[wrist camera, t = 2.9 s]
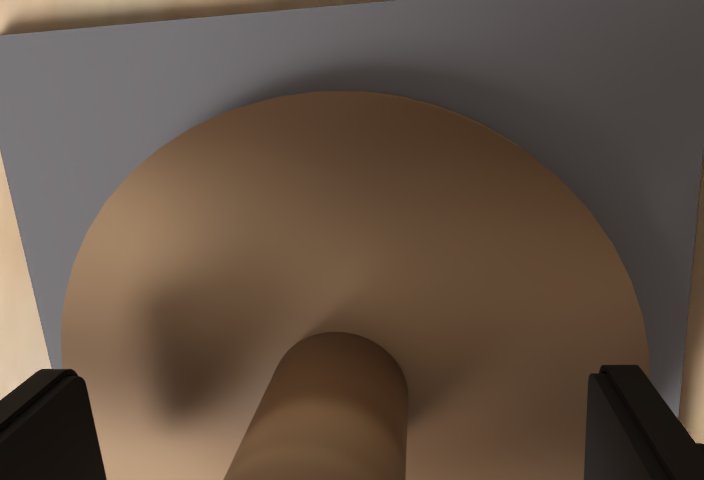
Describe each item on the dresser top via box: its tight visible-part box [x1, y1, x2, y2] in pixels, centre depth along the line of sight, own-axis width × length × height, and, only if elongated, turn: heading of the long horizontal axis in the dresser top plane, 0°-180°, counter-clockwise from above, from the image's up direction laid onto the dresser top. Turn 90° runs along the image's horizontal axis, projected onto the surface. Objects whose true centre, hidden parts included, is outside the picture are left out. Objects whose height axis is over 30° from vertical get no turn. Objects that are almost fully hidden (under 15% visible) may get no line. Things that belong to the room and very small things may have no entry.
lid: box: [61, 90, 649, 480], centre depth 10 cm, size 12×12×6 cm
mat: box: [0, 0, 704, 419], centre depth 13 cm, size 15×14×1 cm
